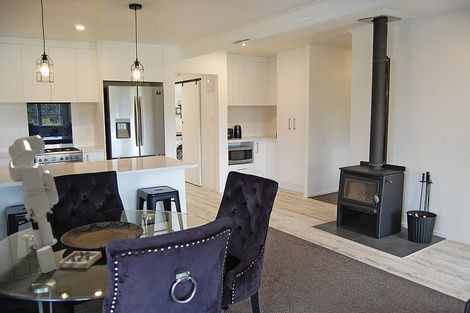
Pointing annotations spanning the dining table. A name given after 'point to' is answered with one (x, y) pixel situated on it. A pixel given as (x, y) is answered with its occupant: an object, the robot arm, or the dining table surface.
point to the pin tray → (80, 259)
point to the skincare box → (46, 259)
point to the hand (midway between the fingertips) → (43, 225)
